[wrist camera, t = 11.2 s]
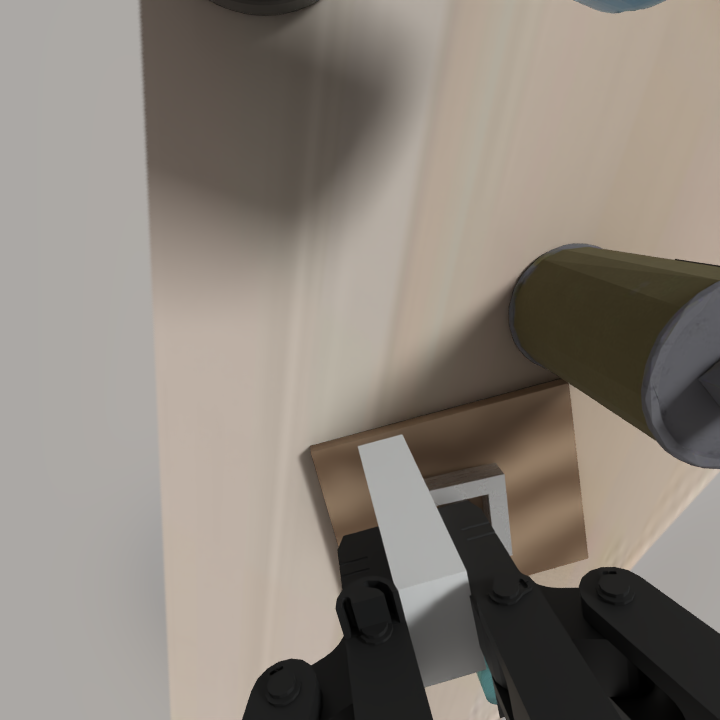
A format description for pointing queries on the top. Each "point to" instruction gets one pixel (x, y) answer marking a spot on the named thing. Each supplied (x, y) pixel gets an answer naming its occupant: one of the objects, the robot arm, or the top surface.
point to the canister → (630, 339)
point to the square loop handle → (494, 498)
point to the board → (476, 448)
